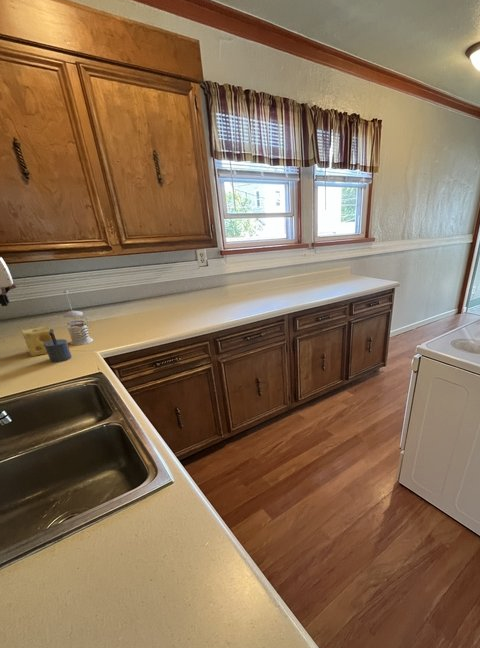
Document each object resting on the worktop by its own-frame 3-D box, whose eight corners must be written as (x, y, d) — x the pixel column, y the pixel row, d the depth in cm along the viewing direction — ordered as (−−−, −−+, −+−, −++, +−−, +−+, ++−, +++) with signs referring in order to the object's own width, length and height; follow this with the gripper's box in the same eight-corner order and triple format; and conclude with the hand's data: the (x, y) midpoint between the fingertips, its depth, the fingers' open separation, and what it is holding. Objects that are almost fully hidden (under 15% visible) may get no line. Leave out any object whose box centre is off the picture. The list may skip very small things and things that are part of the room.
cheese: (31, 357, 143) (22, 335, 139) (28, 350, 150) (20, 329, 146) (59, 351, 149) (51, 330, 145) (55, 345, 157) (48, 325, 152)
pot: (50, 364, 136) (44, 348, 132) (51, 358, 142) (45, 342, 138) (72, 361, 140) (66, 344, 136) (71, 355, 145) (66, 339, 142)
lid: (43, 349, 132) (38, 335, 130) (44, 343, 138) (39, 330, 136) (67, 346, 136) (62, 331, 133) (67, 340, 142) (62, 326, 140)
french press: (65, 343, 159) (47, 291, 147) (86, 336, 168) (71, 286, 157) (80, 346, 156) (62, 293, 144) (100, 338, 165) (86, 288, 154)
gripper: (-47, 256, 109) (-23, 310, 117) (9, 253, 116) (29, 305, 125) (-42, 254, 115) (-19, 306, 123) (12, 252, 122) (30, 301, 130)
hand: (5, 305), depth 124 cm, fingers closed
